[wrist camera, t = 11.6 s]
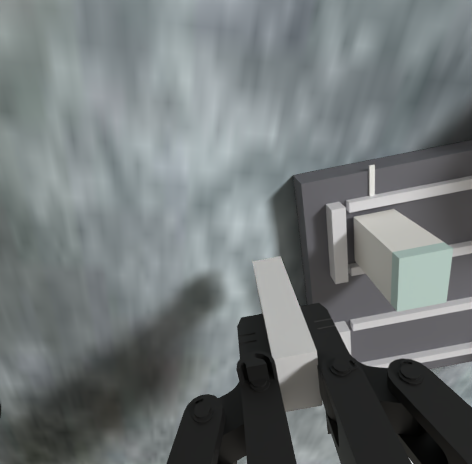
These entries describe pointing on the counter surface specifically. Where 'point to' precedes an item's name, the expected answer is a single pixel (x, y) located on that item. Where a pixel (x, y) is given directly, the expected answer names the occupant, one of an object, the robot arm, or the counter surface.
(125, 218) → the counter surface
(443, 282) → the block
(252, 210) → the counter surface
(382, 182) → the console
